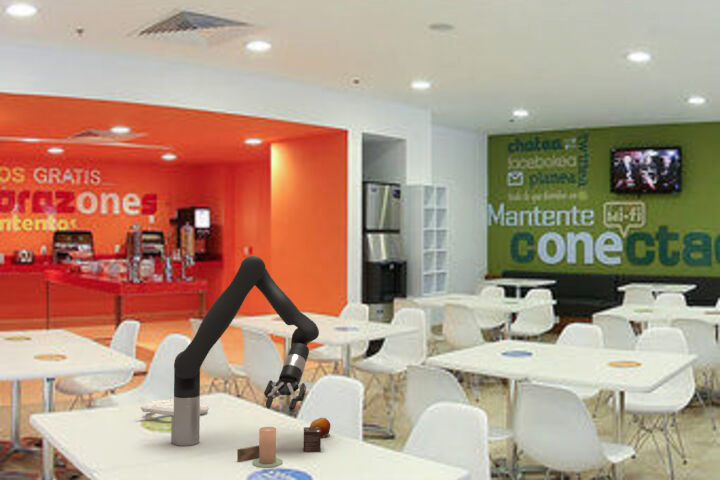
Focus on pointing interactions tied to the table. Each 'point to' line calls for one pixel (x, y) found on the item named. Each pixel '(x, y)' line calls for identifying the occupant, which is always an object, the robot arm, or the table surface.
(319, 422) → the fruit
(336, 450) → the table surface
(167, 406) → the pretzel
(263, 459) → the peach dome-topped cylinder
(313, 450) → the box
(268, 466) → the coaster
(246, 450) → the rail
